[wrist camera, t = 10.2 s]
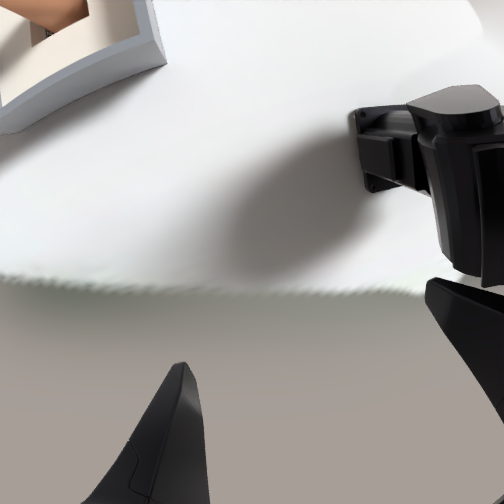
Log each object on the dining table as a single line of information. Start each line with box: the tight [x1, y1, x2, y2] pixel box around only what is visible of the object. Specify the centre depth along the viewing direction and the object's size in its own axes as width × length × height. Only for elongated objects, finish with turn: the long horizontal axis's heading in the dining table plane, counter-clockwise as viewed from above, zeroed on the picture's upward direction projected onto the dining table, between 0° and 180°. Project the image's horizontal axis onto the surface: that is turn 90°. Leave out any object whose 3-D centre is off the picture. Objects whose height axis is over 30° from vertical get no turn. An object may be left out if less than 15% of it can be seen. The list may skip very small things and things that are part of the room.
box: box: [0, 0, 167, 135], centre depth 9 cm, size 12×14×6 cm
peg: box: [0, 0, 89, 33], centre depth 8 cm, size 3×3×8 cm
